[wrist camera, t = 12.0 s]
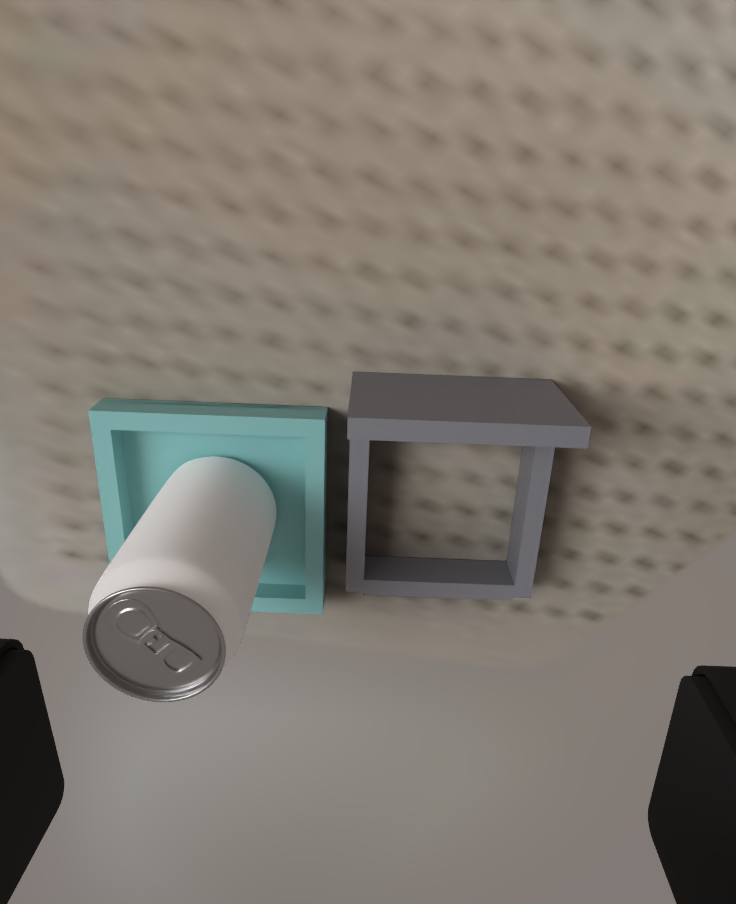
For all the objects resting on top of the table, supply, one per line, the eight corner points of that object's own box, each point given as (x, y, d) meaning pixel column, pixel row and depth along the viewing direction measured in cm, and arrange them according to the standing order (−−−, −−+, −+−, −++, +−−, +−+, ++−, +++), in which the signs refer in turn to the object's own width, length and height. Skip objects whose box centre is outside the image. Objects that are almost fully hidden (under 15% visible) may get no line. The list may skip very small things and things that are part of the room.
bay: (551, 379, 34) (591, 427, 28) (521, 576, 39) (549, 655, 33) (353, 371, 34) (347, 417, 28) (347, 569, 39) (341, 647, 33)
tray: (327, 407, 35) (325, 419, 33) (325, 593, 40) (322, 614, 38) (103, 398, 35) (88, 410, 33) (127, 586, 40) (115, 606, 38)
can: (218, 429, 35) (146, 547, 24) (302, 510, 37) (270, 654, 26) (139, 500, 37) (37, 640, 26) (222, 574, 39) (161, 735, 27)
